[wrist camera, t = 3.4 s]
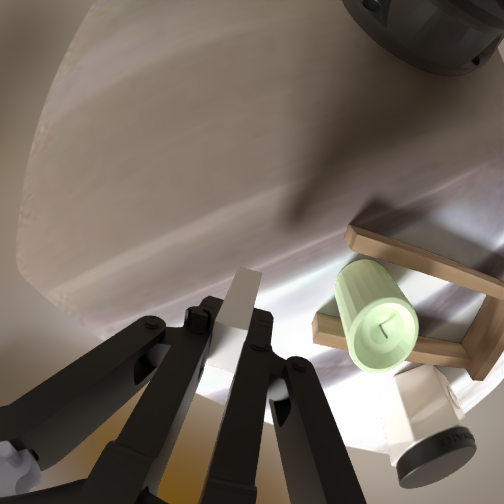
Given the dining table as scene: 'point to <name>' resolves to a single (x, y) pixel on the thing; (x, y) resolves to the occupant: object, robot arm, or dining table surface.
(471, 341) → the channel
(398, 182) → the dining table surface
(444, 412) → the jar
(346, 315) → the candle
